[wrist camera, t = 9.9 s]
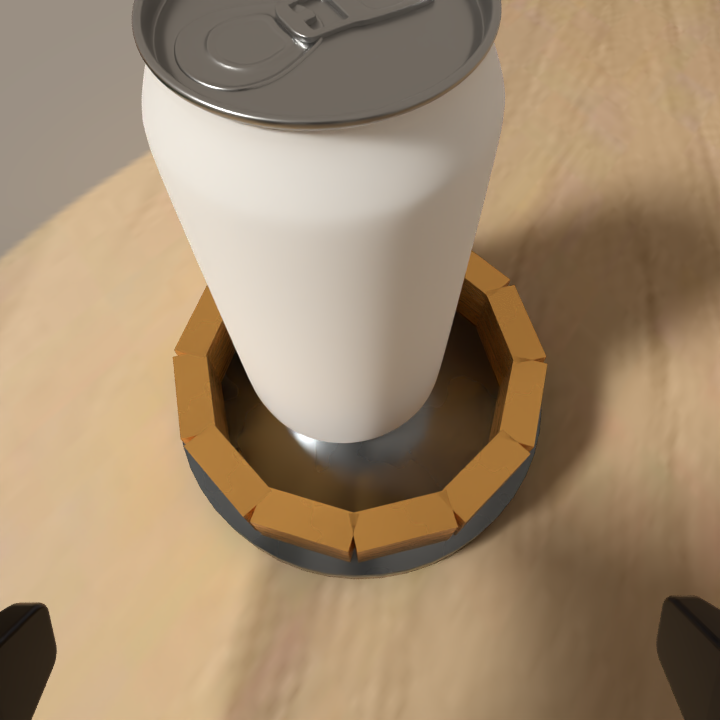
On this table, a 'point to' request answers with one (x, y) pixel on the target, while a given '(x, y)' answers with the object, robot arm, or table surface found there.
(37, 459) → the table surface
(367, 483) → the ring plate
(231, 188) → the can
